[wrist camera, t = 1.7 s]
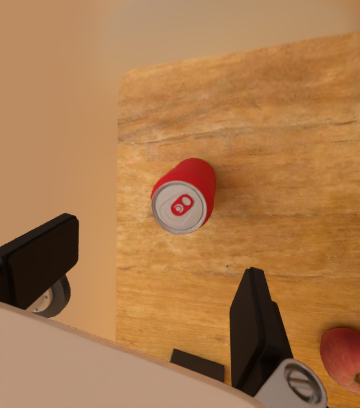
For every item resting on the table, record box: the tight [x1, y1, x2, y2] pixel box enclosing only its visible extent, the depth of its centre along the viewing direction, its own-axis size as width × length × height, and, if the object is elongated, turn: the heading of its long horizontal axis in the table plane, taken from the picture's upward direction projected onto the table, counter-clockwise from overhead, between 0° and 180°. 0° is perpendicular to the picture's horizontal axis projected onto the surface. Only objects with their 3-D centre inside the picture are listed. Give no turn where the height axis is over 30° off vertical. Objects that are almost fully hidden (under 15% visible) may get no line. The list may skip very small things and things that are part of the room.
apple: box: [320, 328, 360, 394], centre depth 30 cm, size 8×8×8 cm
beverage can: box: [151, 158, 216, 234], centre depth 24 cm, size 6×6×12 cm
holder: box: [170, 349, 224, 383], centre depth 42 cm, size 11×11×4 cm
